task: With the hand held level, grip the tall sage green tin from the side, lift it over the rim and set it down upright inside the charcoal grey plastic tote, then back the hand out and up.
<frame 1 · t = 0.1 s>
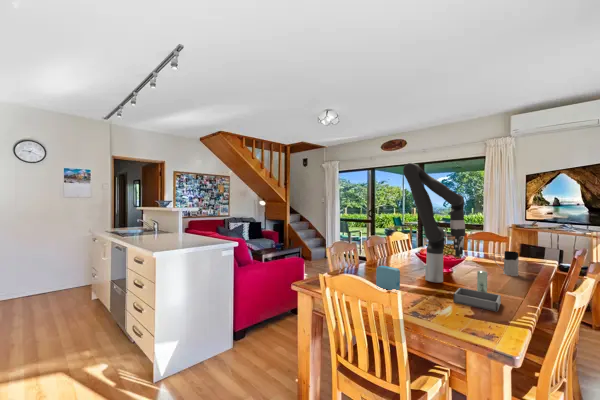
hand: (459, 255, 164), 17 cm above the table, tool pointing down, fingers open, 8 cm apart
tote: (477, 302, 136), on the table
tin: (482, 294, 148), on the table
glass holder: (506, 274, 191), on the table
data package: (387, 289, 156), on the table
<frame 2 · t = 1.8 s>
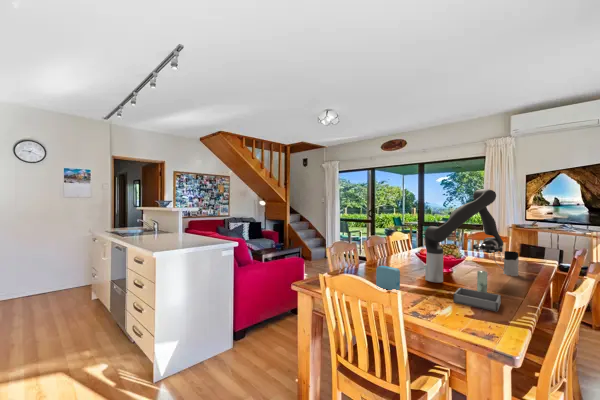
hand: (486, 249, 158), 22 cm above the table, tool horizontal, fingers open, 8 cm apart
nothing on the table moved.
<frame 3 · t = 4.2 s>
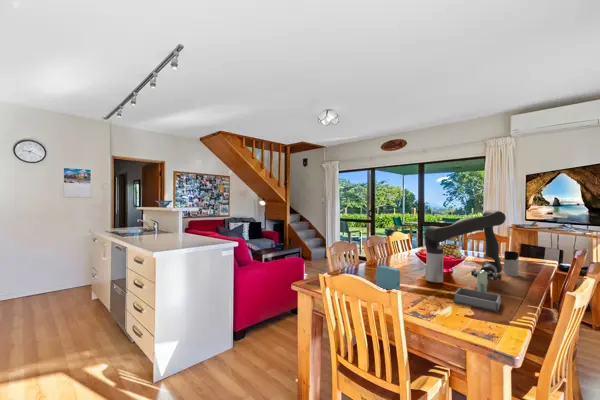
hand: (484, 277, 155), 7 cm above the table, tool horizontal, fingers open, 8 cm apart
nothing on the table moved.
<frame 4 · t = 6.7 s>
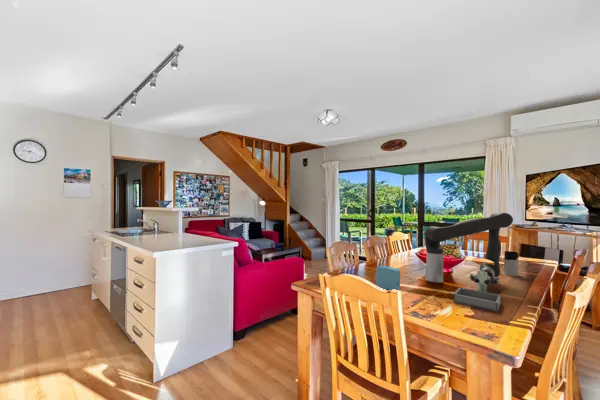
hand: (481, 281, 146), 7 cm above the table, tool horizontal, fingers closed on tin, 4 cm apart
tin: (482, 294, 148), on the table, touching gripper
everything else where it was.
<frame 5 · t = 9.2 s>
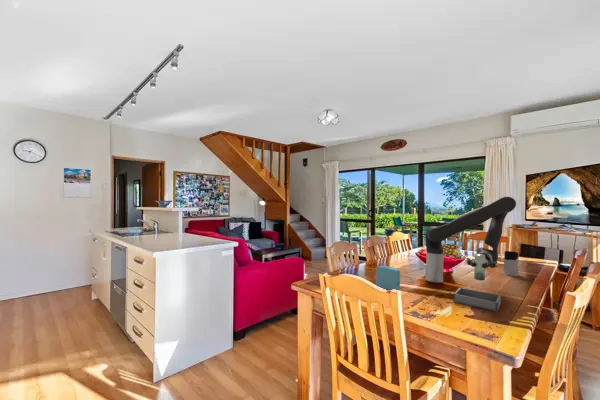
hand: (478, 265, 136), 18 cm above the table, tool horizontal, fingers closed on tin, 4 cm apart
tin: (479, 279, 139), point 11 cm above the table, touching gripper
everything else where it was.
when the fingers open (10 cm above the table, at t = 11.5 s): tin drops 2 cm, resting on tote.
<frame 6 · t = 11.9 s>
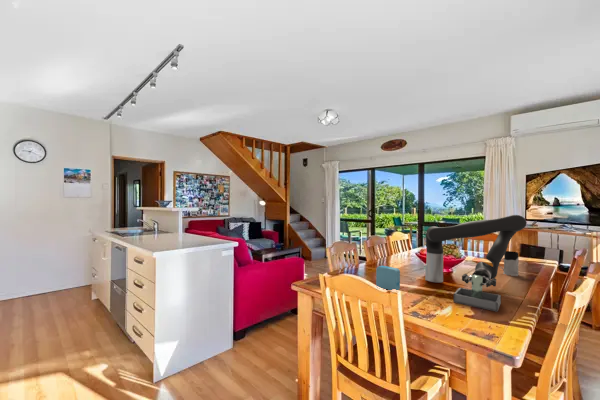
hand: (476, 283, 135), 10 cm above the table, tool horizontal, fingers open, 8 cm apart
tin: (476, 301, 136), point 1 cm above the table, touching tote
everything else where it was.
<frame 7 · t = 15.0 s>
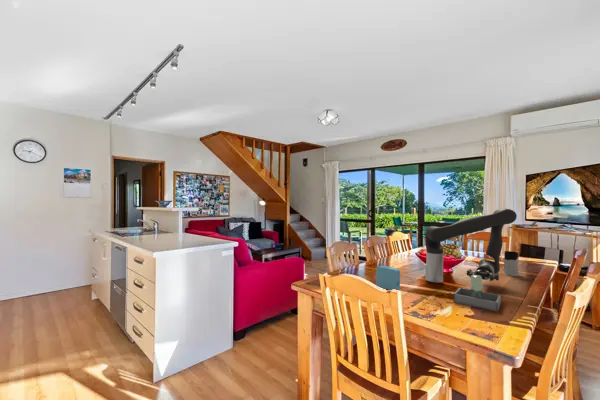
hand: (480, 277, 145), 10 cm above the table, tool horizontal, fingers open, 8 cm apart
nothing on the table moved.
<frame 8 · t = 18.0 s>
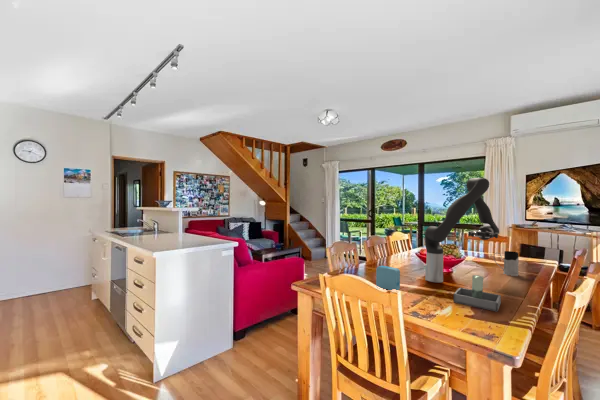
hand: (481, 235, 157), 30 cm above the table, tool horizontal, fingers open, 8 cm apart
nothing on the table moved.
at the end: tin inside the target area on the tote (0.1 cm from its centre), point 0.9 cm above the tote's base; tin tilted 4°; the gripper is holding nothing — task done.
